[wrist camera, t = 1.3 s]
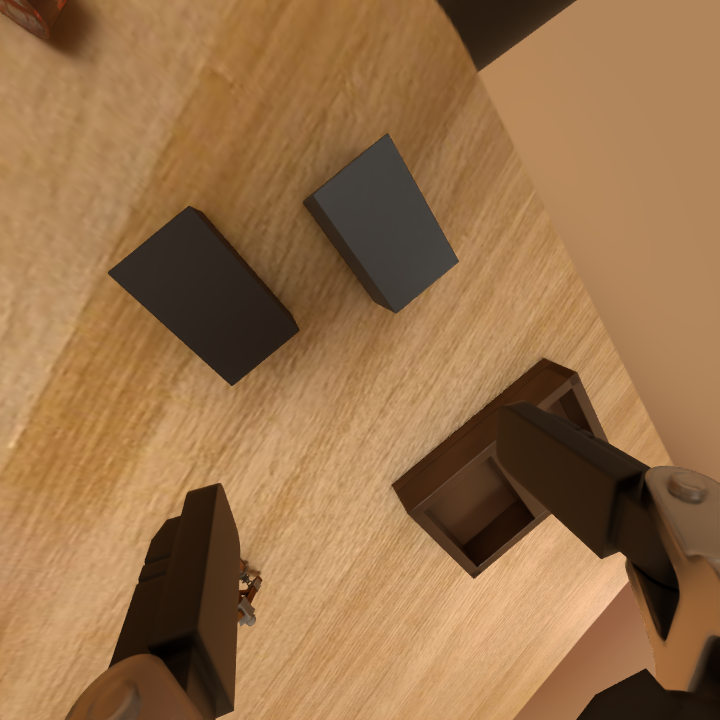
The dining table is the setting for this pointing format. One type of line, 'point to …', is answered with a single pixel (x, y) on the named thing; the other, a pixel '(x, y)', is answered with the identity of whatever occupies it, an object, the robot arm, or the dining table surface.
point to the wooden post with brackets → (247, 597)
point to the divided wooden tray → (489, 474)
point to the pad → (383, 226)
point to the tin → (33, 14)
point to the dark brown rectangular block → (206, 295)
